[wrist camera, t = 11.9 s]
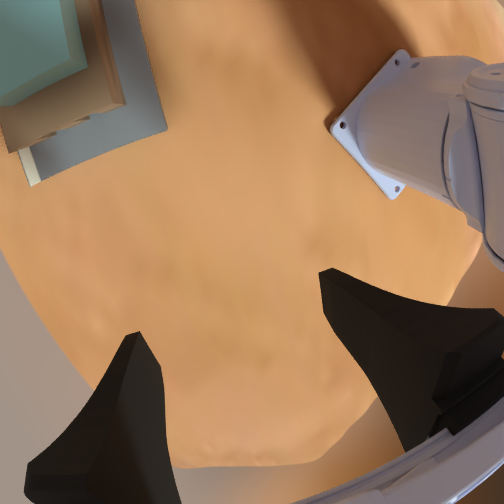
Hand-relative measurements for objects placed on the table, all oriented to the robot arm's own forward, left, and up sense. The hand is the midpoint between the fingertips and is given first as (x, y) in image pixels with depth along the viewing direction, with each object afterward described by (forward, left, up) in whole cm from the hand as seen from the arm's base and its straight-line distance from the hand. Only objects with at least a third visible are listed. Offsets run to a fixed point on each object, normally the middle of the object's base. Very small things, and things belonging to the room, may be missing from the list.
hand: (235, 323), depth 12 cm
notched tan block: (-4, -14, -8) cm, 17 cm away
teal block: (-4, -14, -4) cm, 15 cm away
